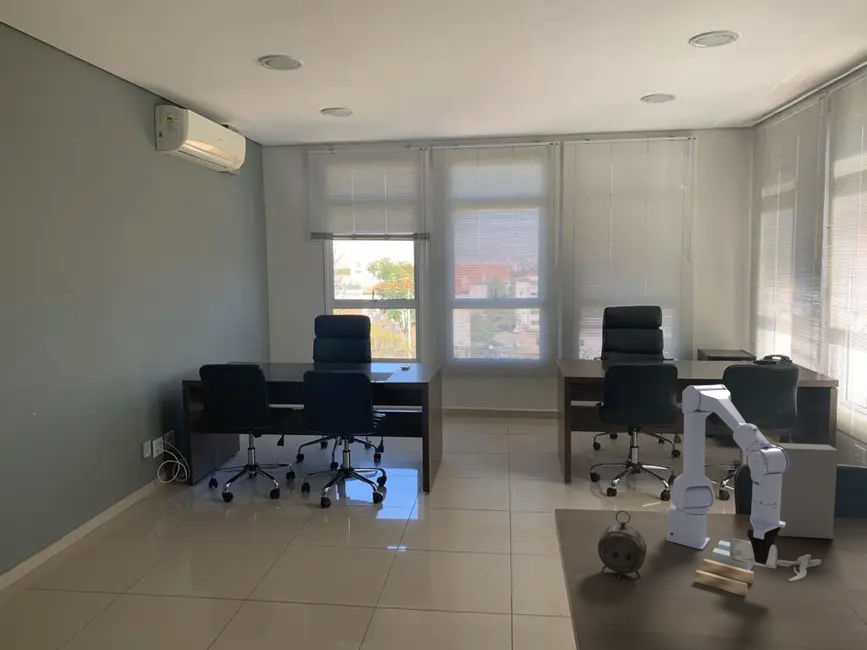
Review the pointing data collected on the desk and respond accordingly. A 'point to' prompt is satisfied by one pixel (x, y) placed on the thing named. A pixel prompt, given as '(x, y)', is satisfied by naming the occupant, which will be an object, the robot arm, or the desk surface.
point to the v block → (727, 556)
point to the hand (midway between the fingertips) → (763, 558)
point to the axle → (750, 553)
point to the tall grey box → (808, 490)
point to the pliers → (803, 562)
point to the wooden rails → (722, 581)
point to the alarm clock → (622, 548)
